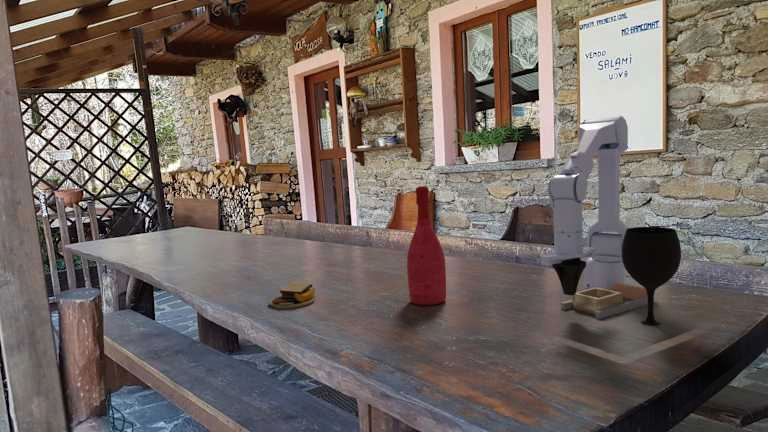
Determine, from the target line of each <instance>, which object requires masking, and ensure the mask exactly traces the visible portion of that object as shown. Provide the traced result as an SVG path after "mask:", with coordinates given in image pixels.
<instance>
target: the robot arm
mask: <svg viewBox="0 0 768 432" xmlns="http://www.w3.org/2000/svg"><path fill="white" fill-rule="evenodd" d="M628 128H629V127H628V124H627V120H626V118H624V116H622V115H620V116H619V115H618V116H614V117H604V118H595V119H583V120H581V122H580V124H579V125H578V129H577V134H578V135H577V136H578V139H579V144H578V146H577V149H576V151H575V152H572V153H570V154H569V155H568V156H567V159H566V160H565V163H564V164H563V166H562V168H561V169H560V170H559V174H555V175H554V176H553V177H551V178H550V179H549V182H548V184H547V185H548V187H547V195H548V199H549V200H550V201H549V203H550V209H551V210H552V211H553V244H554V249H553V250H554V251H551V252H550V253H547V254H544V255H541V256H540V265H541V266H546V267H552V268H553V269H554V271H555V272H556V274H557V277H558V279H559V282H560V285H561V288H562V292H563V294H564V295H567V296H572V295H575V294H576V292H577V289H578V285H579V281H580V279H581V277H582V274H583V276H584V277H583V278H584V284H583V285H584V286H583V287H584V289H585V290H587V289H591V288H595V287H597V288H602V289H607V290H610V289H612V283H614V282H616V283H621V284H627V271H626V269H625V267H624V264H623V261H622V244H623V239H624V236H625V232H626V230H627V229H629V228H631V227H630V226H629V225H628V224H626V223H624V221H622V220H621V219H620V193H621V192H620V187H621V185H620V179H621V178H620V177H621V176H620V174H621V170H620V166H621V165H620V162H621V154H623V153H624V152H626V151H627V150H628V144H629V141H628V140H629V137H628V136H629V135H628V134H629V129H628ZM594 156H596V157H597V158H598V204H597V205H598V206H597V207H598V209H597V210H598V213H597V214H598V221H596V222H595V223H593V224H592V225H591V226H589V227H588V231H587V237H586V242H585V243H586V244H585V245H586V247H584V238H583V235H584V234H583V231H584V230H583V201H584V200H585V199H586V196H587V188H588V184H589V183H588V179H589V178H590V176H591V175H590V174H591V173H592V170H593V168H594V166H595V162H594V159H593V158H594ZM585 258H587V260H582V259H585Z"/></svg>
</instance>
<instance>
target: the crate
mask: <svg viewBox="0 0 768 432" xmlns="http://www.w3.org/2000/svg"><path fill="white" fill-rule="evenodd" d="M571 300H572V301H573V308H572V309H574V310H577V311H580V312H585V313H587V314H588V313H589V314H593V315H595V311H598V310H602V309H605V308H608V307H612V306H615V305H618V304H622V303H624V297H623V293H621V292H616V291H612V290H607V289H602V288H597V287H595V288H591V289H584V290H579V291H576V294H575V295H572V299H571Z"/></svg>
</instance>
